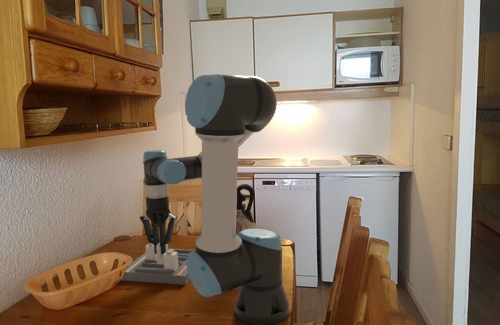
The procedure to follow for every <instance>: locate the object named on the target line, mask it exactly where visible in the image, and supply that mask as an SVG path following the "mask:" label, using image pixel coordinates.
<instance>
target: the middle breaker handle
mask: <svg viewBox="0 0 500 325" xmlns="http://www.w3.org/2000/svg"><path fill="white" fill-rule="evenodd" d="M147 243H148V244H146V245H145V252H146V260H157V254H155V253H154V245H153V244H152V243H149V242H147Z"/></svg>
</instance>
